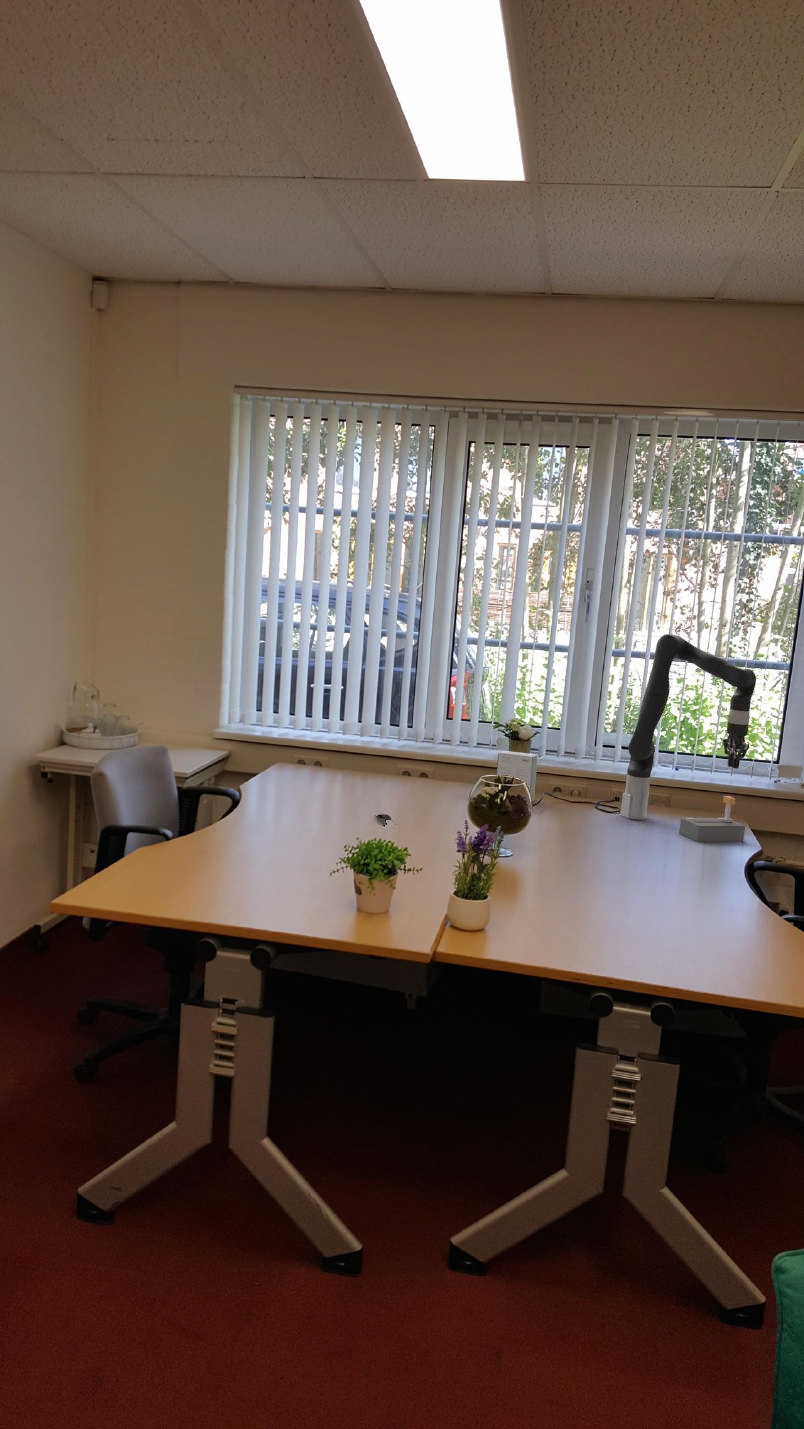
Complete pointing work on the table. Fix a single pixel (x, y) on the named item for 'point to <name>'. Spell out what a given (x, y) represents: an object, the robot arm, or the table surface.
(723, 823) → the switch box
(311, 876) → the table surface
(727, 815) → the breaker handle
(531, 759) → the hard drive box
